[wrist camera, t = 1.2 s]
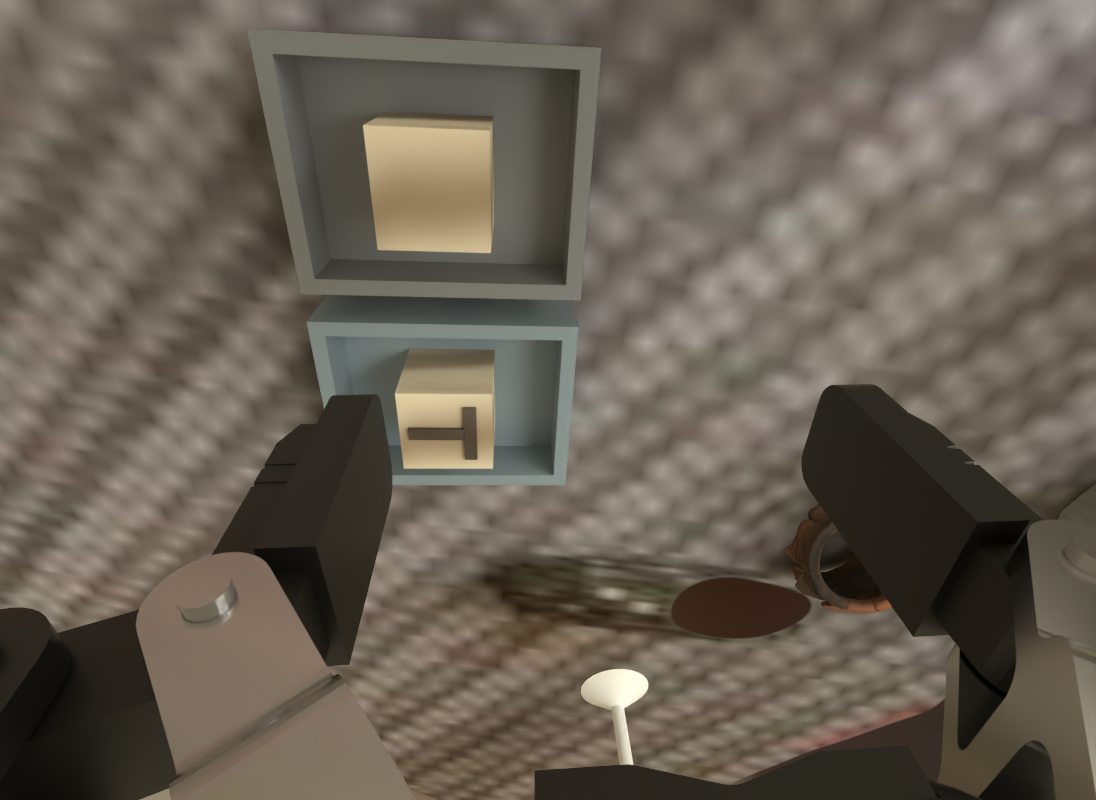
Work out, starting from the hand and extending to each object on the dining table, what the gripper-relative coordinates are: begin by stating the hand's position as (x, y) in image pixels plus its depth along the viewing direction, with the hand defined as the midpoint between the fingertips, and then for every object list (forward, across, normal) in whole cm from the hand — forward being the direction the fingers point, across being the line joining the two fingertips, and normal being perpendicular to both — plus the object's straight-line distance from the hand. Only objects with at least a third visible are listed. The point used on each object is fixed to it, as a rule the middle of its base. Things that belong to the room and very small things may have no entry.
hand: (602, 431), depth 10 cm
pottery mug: (+23, -24, +26) cm, 42 cm away
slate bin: (+22, +5, +12) cm, 26 cm away
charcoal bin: (+22, +5, -1) cm, 23 cm away
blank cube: (+22, +5, -1) cm, 22 cm away
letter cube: (+22, +5, +12) cm, 25 cm away
